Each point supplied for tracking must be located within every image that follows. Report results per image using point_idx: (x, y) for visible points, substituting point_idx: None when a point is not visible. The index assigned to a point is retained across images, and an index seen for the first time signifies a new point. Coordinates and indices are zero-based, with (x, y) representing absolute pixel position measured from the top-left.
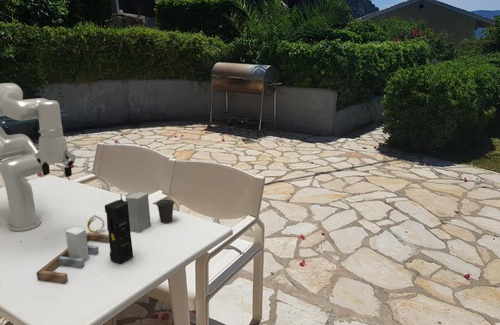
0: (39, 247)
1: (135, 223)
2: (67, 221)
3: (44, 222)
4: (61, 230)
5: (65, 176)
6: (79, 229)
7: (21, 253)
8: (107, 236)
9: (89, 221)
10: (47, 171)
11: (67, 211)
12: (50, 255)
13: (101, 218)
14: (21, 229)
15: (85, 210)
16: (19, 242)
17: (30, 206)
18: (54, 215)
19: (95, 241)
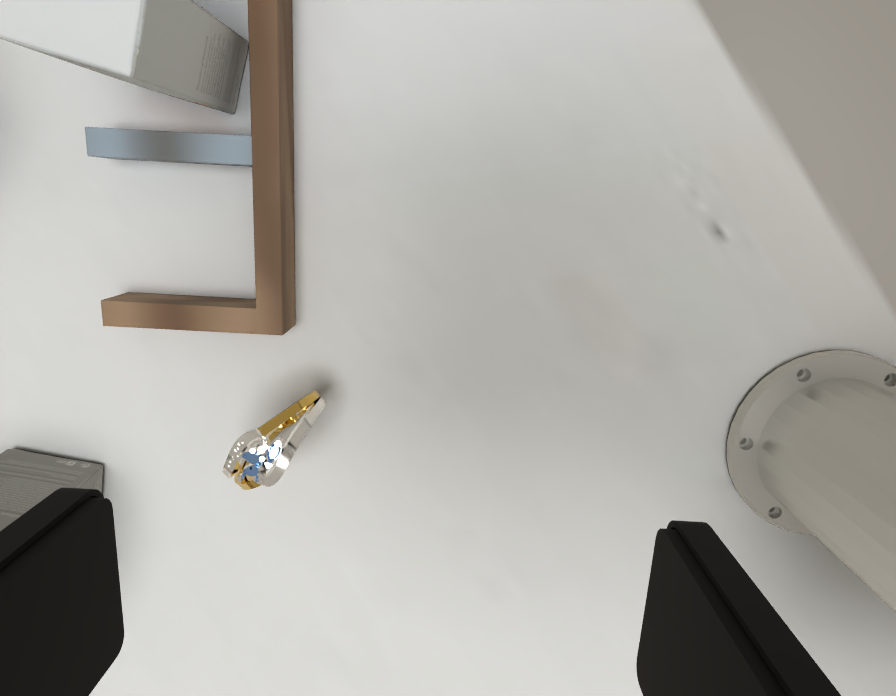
0: (544, 170)
1: (3, 480)
2: (572, 527)
3: (716, 495)
4: (538, 408)
5: (95, 499)
6: (40, 26)
7: (614, 75)
8: (113, 301)
9: (297, 424)
10: (666, 658)
11: None
12: (407, 80)
13: (223, 468)
14: (802, 361)
15: (543, 681)
16: (719, 215)
17: (846, 502)
18: None
19: (228, 298)
